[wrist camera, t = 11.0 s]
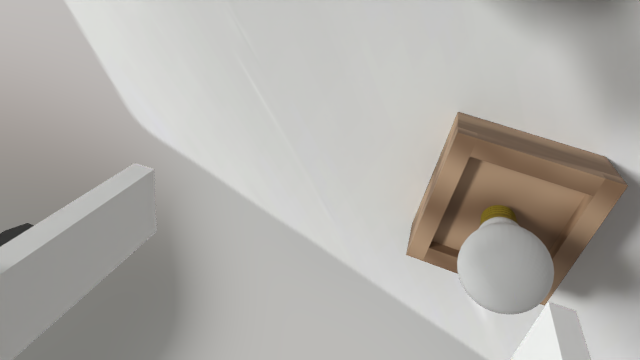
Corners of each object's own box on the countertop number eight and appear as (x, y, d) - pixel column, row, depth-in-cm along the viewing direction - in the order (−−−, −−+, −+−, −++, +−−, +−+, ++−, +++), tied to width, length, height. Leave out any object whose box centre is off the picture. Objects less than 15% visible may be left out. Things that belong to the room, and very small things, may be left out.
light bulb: (512, 168, 32) (527, 243, 23) (553, 225, 33) (582, 317, 24) (445, 202, 35) (437, 280, 26) (484, 254, 36) (488, 344, 27)
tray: (458, 111, 35) (457, 132, 31) (605, 156, 33) (627, 185, 29) (412, 223, 41) (406, 254, 37) (535, 267, 39) (544, 305, 35)
